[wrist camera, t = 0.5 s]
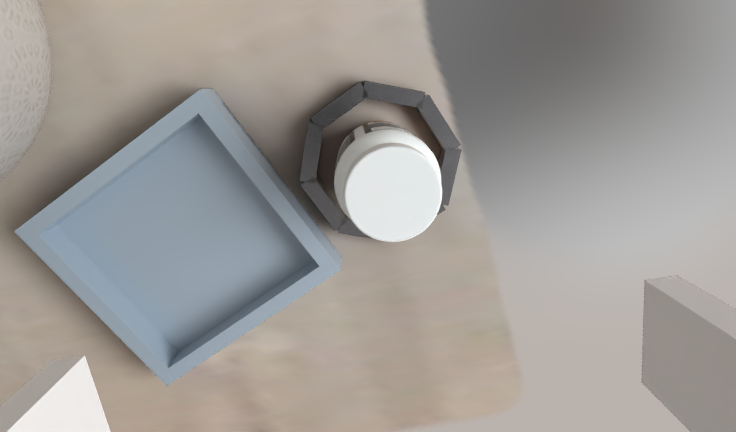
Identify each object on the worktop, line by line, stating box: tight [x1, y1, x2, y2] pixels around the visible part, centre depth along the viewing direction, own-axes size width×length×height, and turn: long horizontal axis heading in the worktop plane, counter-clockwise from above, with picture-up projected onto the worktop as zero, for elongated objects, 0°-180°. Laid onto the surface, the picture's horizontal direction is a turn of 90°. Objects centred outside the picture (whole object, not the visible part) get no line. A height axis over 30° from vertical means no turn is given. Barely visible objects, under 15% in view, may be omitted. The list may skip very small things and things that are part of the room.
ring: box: [300, 81, 461, 238], centre depth 30 cm, size 10×10×1 cm
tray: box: [14, 88, 341, 386], centre depth 31 cm, size 14×15×2 cm
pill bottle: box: [334, 121, 442, 242], centre depth 26 cm, size 6×6×10 cm
